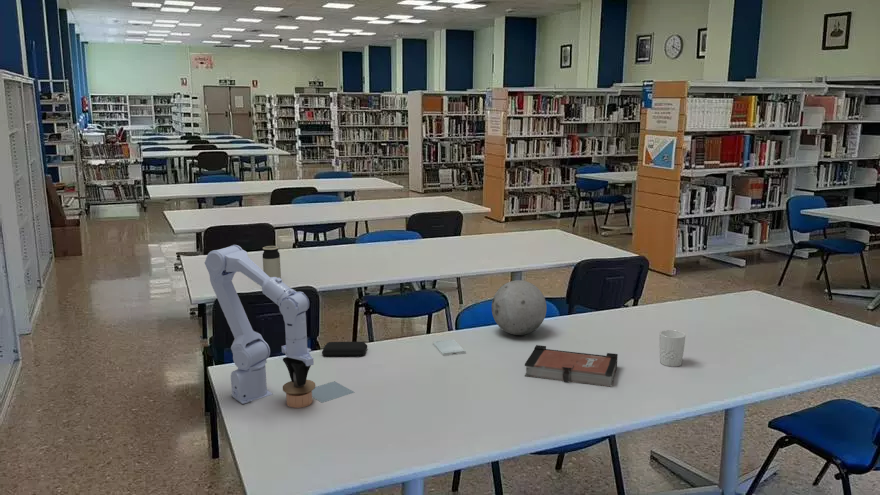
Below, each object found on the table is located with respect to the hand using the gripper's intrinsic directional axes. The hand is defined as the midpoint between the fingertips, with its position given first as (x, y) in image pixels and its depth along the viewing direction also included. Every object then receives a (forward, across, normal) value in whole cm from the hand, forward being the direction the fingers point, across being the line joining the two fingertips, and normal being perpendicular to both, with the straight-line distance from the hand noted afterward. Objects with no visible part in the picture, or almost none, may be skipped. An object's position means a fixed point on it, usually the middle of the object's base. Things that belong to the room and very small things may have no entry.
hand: (298, 383), depth 189 cm
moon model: (+6, +1, -91) cm, 91 cm away
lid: (+1, 0, 0) cm, 1 cm away
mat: (+6, +1, -10) cm, 12 cm away
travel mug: (+6, +131, -58) cm, 143 cm away
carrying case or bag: (+7, +28, -33) cm, 43 cm away
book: (+7, -36, -76) cm, 84 cm away
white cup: (+6, -52, -106) cm, 118 cm away
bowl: (+6, 0, 0) cm, 6 cm away
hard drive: (+7, +6, -61) cm, 62 cm away
